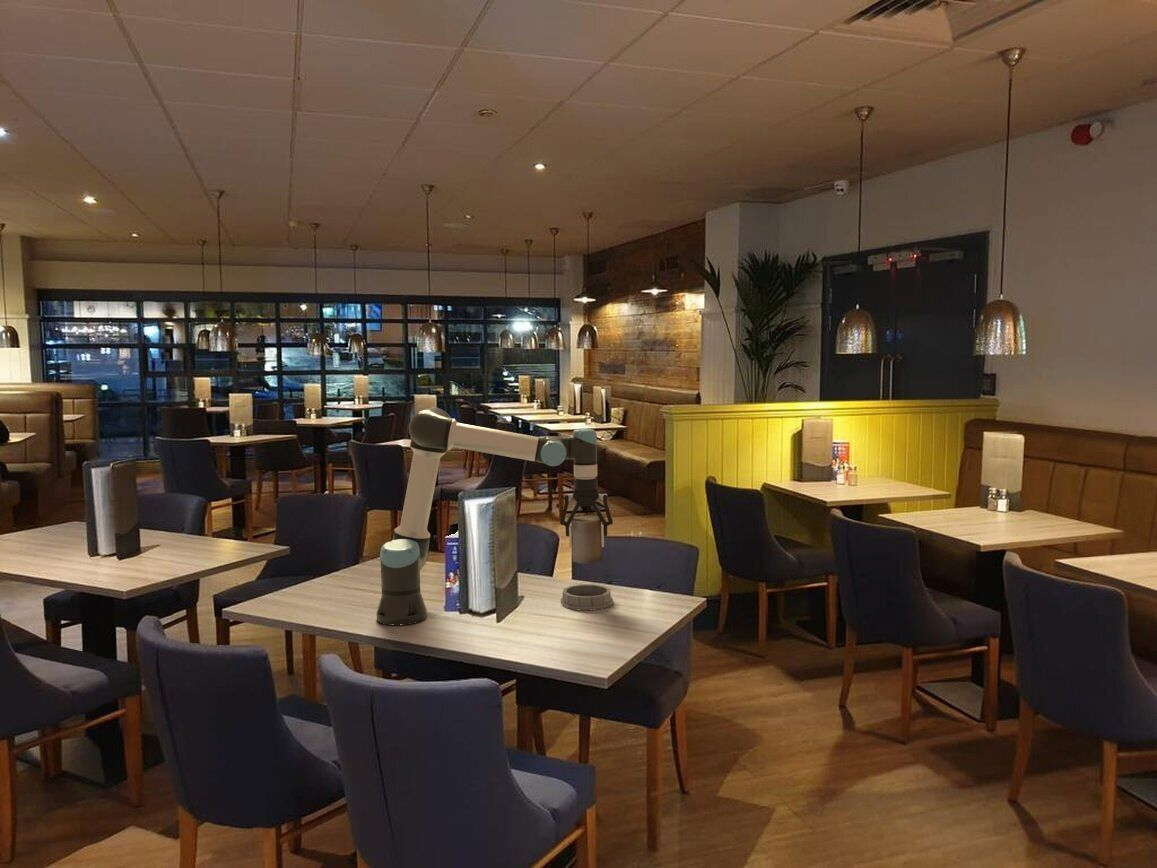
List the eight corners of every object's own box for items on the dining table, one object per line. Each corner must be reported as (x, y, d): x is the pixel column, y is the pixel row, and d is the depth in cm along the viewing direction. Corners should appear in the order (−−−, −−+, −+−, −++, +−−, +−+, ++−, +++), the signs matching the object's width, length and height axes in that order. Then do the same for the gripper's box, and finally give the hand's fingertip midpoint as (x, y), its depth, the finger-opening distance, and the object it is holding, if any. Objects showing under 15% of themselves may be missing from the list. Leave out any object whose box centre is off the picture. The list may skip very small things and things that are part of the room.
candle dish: (612, 610, 265) (612, 598, 264) (558, 610, 266) (558, 597, 265) (613, 595, 282) (613, 583, 281) (562, 595, 283) (562, 583, 282)
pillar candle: (603, 556, 277) (602, 511, 276) (601, 563, 267) (599, 517, 266) (573, 556, 278) (572, 511, 276) (570, 564, 268) (569, 517, 267)
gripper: (620, 475, 273) (621, 543, 275) (552, 476, 274) (553, 543, 276) (620, 478, 266) (621, 548, 268) (550, 479, 267) (551, 548, 269)
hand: (586, 546), depth 272 cm, fingers closed on pillar candle, 10 cm apart
